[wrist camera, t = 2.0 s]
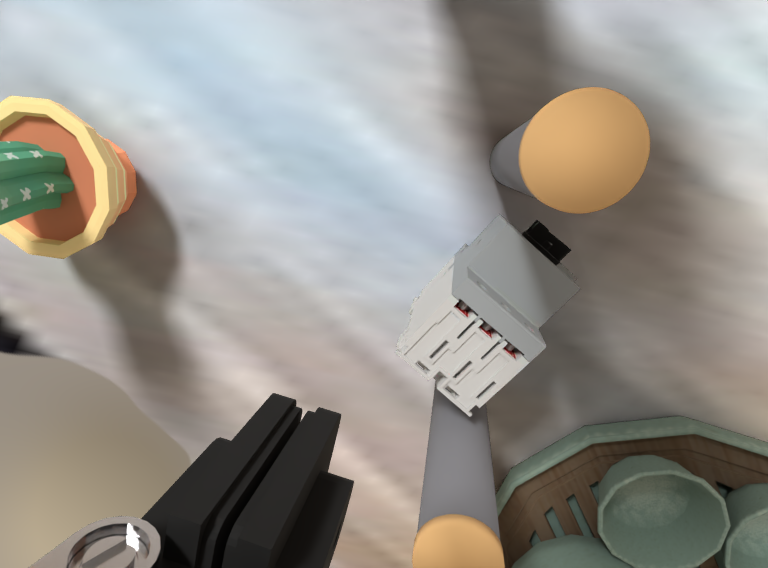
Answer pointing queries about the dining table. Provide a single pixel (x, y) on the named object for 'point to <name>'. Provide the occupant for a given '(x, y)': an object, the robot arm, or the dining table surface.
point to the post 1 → (458, 492)
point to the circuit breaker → (487, 312)
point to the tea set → (639, 499)
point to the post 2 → (576, 151)
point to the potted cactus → (58, 179)
